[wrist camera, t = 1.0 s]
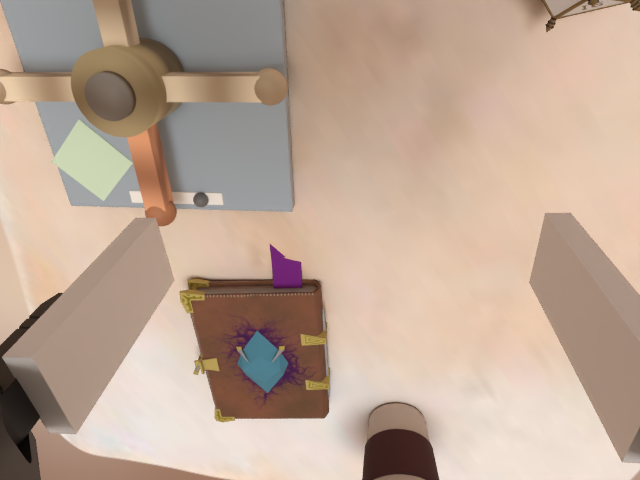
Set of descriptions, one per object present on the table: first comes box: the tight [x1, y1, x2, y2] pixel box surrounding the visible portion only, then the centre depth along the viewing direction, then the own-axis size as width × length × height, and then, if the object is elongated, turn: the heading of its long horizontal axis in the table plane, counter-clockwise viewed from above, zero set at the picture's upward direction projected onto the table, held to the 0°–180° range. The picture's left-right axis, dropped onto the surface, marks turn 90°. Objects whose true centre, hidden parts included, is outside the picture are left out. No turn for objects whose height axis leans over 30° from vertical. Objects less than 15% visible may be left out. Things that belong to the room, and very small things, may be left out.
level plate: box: [0, 0, 294, 212], centre depth 36 cm, size 24×22×3 cm
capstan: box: [0, 0, 288, 226], centre depth 32 cm, size 24×24×7 cm
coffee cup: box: [362, 403, 439, 480], centre depth 50 cm, size 10×10×15 cm
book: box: [180, 244, 330, 422], centre depth 50 cm, size 16×25×5 cm, turn 3°
